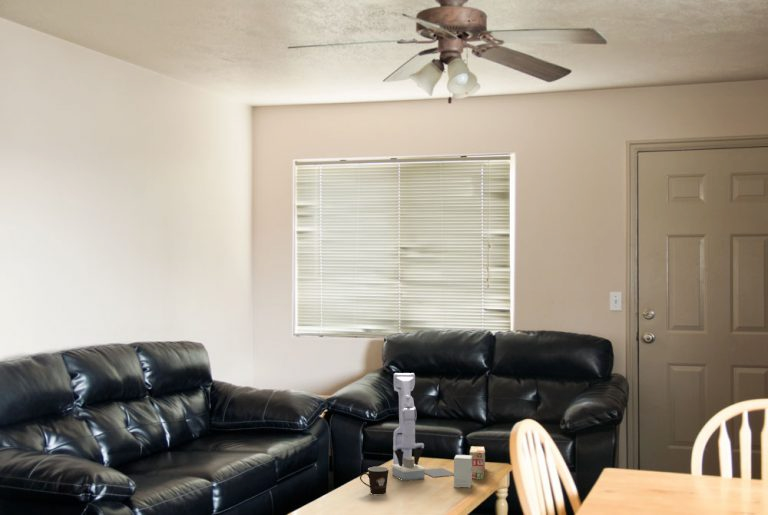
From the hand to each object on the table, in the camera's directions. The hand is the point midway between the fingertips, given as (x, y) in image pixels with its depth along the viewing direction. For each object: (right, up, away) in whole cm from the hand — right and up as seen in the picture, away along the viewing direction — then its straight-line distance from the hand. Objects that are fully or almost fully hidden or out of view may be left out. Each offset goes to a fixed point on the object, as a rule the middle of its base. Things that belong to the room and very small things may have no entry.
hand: (408, 465), depth 400 cm
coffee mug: (-15, -5, -28) cm, 32 cm away
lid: (0, -1, 0) cm, 1 cm away
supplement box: (+23, -6, -15) cm, 28 cm away
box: (0, -5, 0) cm, 5 cm away
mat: (+14, -6, +8) cm, 17 cm away
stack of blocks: (+32, -6, +8) cm, 33 cm away
